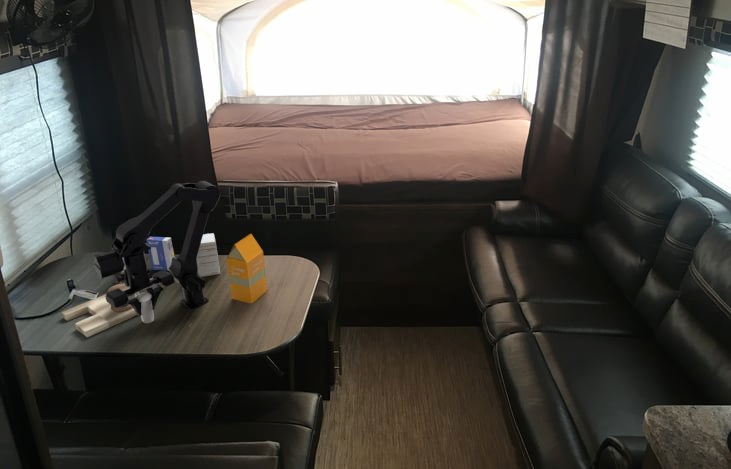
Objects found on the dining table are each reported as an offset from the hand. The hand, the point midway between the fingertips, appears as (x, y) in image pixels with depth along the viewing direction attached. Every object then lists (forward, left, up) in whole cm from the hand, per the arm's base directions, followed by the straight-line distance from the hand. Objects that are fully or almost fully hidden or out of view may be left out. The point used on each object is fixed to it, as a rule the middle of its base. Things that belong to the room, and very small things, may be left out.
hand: (146, 312), depth 168 cm
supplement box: (+12, -30, -3) cm, 32 cm away
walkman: (+26, -21, -3) cm, 34 cm away
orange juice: (-12, -29, -3) cm, 32 cm away
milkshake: (0, 0, -3) cm, 3 cm away
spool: (+10, +2, 0) cm, 10 cm away
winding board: (+13, +6, -2) cm, 15 cm away
